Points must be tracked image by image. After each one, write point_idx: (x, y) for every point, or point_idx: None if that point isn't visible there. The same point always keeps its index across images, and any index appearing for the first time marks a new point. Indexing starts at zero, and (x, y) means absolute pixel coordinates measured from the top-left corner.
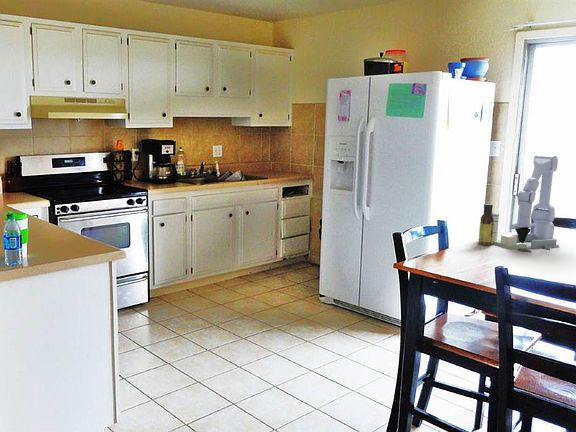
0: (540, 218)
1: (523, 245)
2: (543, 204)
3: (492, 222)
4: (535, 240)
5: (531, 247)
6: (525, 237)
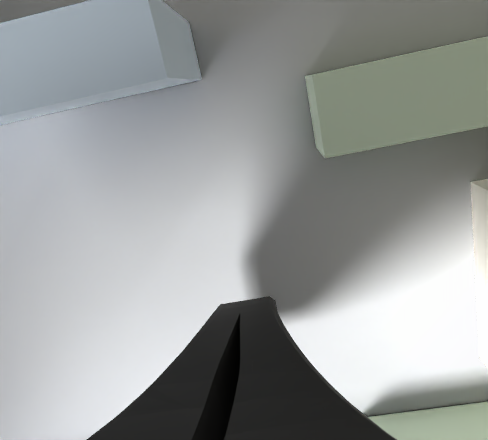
0: None
1: (417, 52)
2: None
3: None
4: (24, 77)
5: (195, 58)
6: (194, 361)
